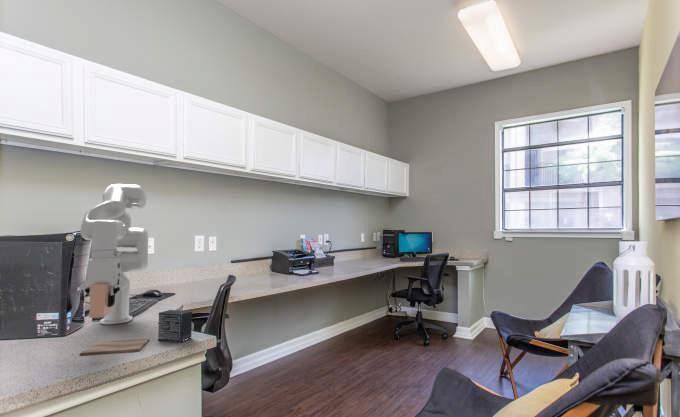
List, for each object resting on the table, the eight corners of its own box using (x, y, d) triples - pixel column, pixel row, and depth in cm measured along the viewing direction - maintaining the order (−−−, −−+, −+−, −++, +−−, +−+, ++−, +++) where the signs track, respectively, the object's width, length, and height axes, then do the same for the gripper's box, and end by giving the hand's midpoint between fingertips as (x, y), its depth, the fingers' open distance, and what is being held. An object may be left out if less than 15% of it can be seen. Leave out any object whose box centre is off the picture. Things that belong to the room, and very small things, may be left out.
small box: (192, 338, 140) (193, 310, 141) (180, 343, 134) (181, 314, 135) (169, 335, 143) (170, 308, 144) (157, 340, 137) (157, 312, 138)
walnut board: (95, 344, 133) (95, 341, 133) (149, 340, 137) (149, 338, 137) (79, 355, 121) (80, 352, 121) (139, 351, 125) (139, 348, 125)
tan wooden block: (100, 312, 132) (101, 281, 133) (114, 311, 133) (115, 281, 134) (89, 317, 123) (90, 285, 124) (104, 317, 124) (105, 284, 125)
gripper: (133, 253, 135) (132, 303, 134) (82, 254, 131) (80, 305, 130) (126, 255, 128) (125, 307, 127) (72, 255, 124) (69, 310, 123)
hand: (102, 306), depth 129 cm, fingers closed on tan wooden block, 4 cm apart
